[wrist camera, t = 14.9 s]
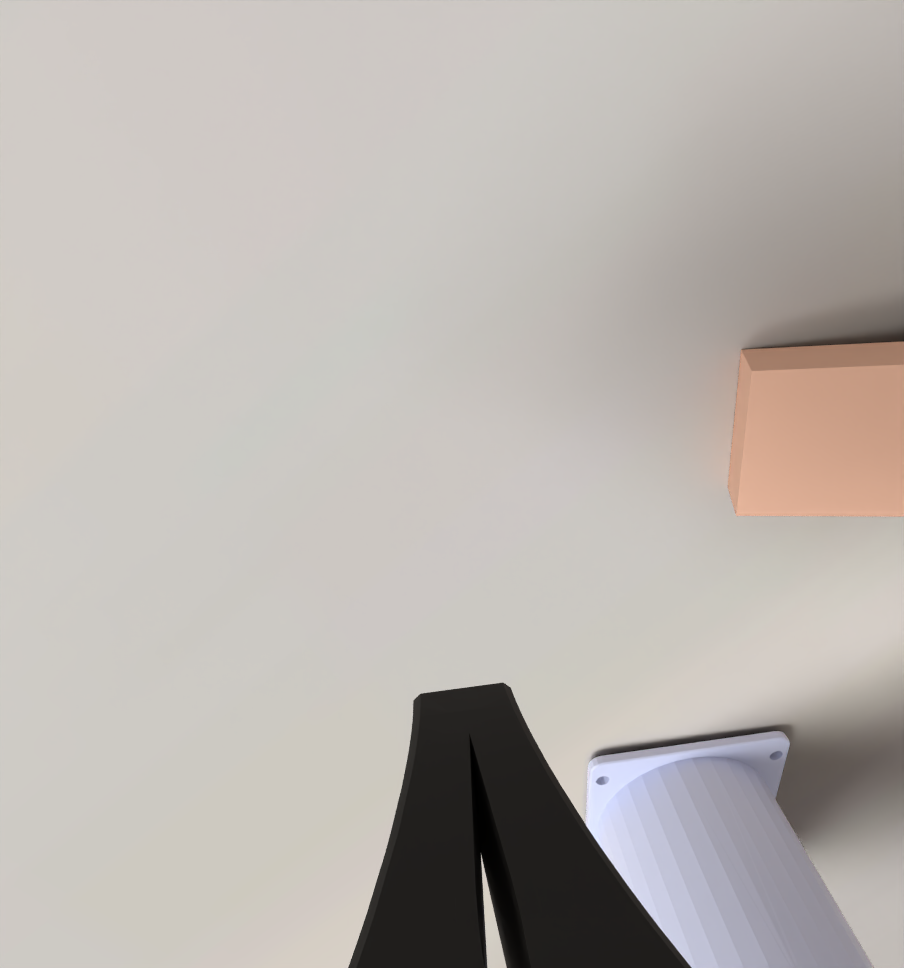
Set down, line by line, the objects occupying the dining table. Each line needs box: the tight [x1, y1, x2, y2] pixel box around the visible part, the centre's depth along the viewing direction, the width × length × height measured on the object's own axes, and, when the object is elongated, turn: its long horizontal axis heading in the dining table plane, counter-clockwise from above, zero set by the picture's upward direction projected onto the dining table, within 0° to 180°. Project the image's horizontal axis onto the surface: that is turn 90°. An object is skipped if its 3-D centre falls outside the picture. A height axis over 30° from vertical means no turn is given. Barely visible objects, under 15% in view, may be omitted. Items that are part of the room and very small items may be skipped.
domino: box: [728, 341, 904, 516], centre depth 18 cm, size 2×4×6 cm
